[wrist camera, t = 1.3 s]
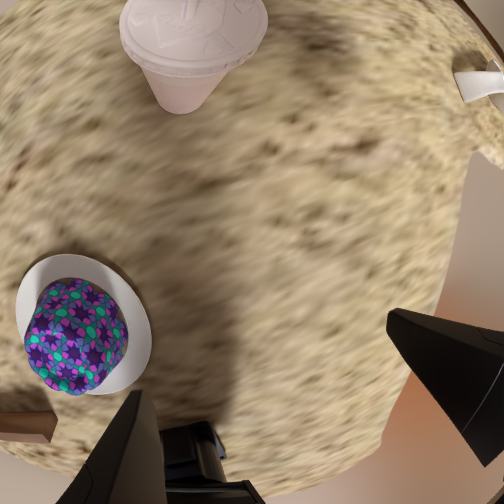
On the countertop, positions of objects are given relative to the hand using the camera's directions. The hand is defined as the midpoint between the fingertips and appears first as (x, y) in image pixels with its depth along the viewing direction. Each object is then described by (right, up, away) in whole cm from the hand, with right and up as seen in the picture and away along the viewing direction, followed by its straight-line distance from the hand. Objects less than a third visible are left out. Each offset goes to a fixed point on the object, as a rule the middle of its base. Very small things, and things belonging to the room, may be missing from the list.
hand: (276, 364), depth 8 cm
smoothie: (-6, +15, +8) cm, 18 cm away
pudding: (-14, -2, +9) cm, 17 cm away
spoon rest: (+39, +32, +19) cm, 53 cm away
